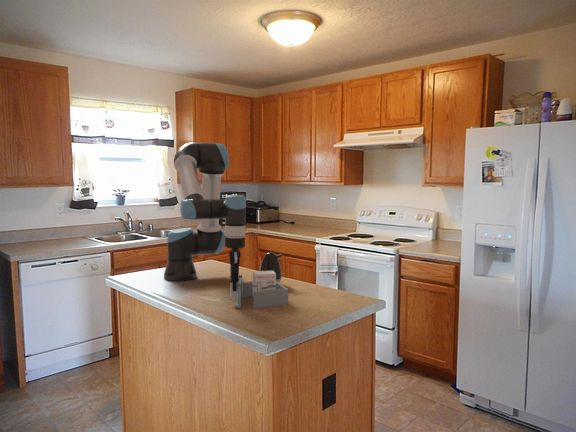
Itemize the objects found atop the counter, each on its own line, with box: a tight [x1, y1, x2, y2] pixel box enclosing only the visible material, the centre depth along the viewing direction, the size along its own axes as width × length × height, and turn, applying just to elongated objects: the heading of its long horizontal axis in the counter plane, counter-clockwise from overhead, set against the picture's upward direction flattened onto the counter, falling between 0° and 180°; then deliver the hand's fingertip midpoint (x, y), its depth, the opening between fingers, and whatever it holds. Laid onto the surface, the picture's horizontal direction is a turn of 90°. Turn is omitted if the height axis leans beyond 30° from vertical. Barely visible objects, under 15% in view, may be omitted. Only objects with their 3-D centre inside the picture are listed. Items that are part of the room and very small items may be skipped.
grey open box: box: [238, 274, 289, 309], centre depth 164 cm, size 16×15×9 cm
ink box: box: [252, 270, 276, 302], centre depth 162 cm, size 9×5×12 cm, turn 103°
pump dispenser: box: [259, 251, 283, 283], centre depth 188 cm, size 10×10×15 cm
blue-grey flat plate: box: [237, 277, 243, 308], centre depth 161 cm, size 13×1×8 cm, turn 5°
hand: (233, 298), depth 159 cm, fingers closed
